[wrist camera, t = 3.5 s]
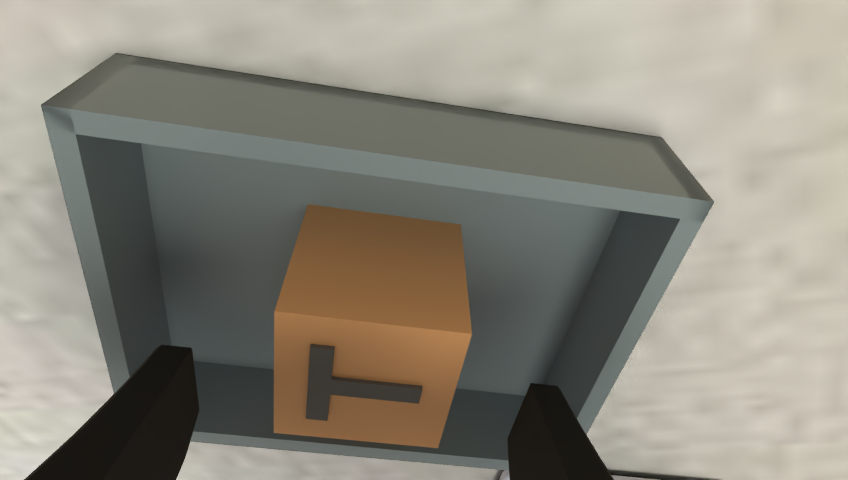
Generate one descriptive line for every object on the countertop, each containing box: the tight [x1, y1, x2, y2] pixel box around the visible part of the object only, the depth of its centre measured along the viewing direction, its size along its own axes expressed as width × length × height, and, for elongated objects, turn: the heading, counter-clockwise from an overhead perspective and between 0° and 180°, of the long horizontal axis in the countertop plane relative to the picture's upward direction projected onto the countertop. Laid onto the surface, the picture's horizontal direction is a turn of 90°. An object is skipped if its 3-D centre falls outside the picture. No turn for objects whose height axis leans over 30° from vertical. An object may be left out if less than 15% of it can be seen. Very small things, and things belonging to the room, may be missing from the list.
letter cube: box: [274, 204, 472, 448], centre depth 14 cm, size 4×4×4 cm
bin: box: [41, 54, 714, 470], centre depth 15 cm, size 13×10×3 cm
